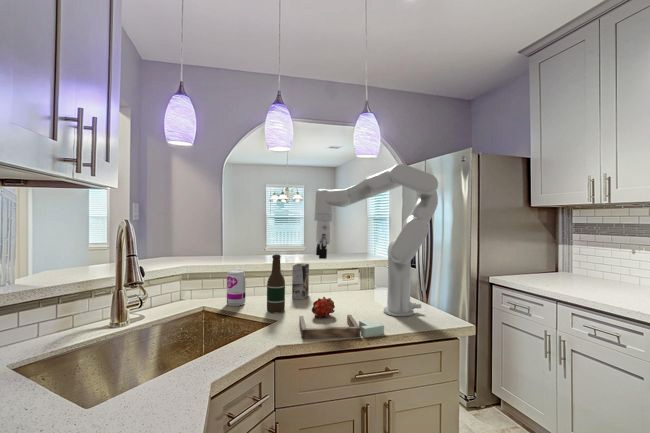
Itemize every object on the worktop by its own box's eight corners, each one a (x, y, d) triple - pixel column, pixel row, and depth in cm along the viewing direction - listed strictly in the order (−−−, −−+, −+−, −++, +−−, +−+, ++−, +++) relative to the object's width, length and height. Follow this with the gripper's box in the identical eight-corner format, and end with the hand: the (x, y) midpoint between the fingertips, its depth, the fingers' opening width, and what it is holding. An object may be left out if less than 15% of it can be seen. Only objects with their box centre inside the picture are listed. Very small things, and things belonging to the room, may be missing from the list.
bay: (350, 322, 137) (351, 314, 137) (360, 336, 122) (360, 328, 122) (299, 323, 135) (299, 315, 135) (302, 338, 119) (302, 329, 119)
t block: (370, 326, 132) (371, 319, 132) (383, 333, 125) (384, 325, 125) (352, 330, 129) (352, 321, 129) (365, 337, 122) (365, 328, 121)
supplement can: (235, 307, 155) (236, 273, 155) (222, 304, 160) (223, 271, 159) (249, 303, 162) (249, 270, 162) (236, 300, 166) (236, 269, 166)
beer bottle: (288, 309, 153) (289, 254, 153) (278, 314, 146) (279, 256, 146) (273, 307, 156) (273, 253, 156) (262, 311, 149) (263, 255, 149)
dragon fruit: (335, 317, 148) (314, 328, 140) (323, 302, 153) (302, 312, 144) (343, 304, 144) (321, 314, 136) (329, 289, 148) (308, 298, 140)
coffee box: (304, 299, 171) (304, 266, 170) (291, 298, 172) (292, 265, 172) (309, 295, 180) (309, 263, 179) (296, 294, 181) (297, 262, 180)
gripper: (335, 219, 146) (332, 260, 146) (328, 217, 163) (326, 254, 163) (317, 218, 145) (314, 259, 145) (312, 216, 162) (310, 253, 162)
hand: (321, 256), depth 154 cm, fingers open, 9 cm apart
